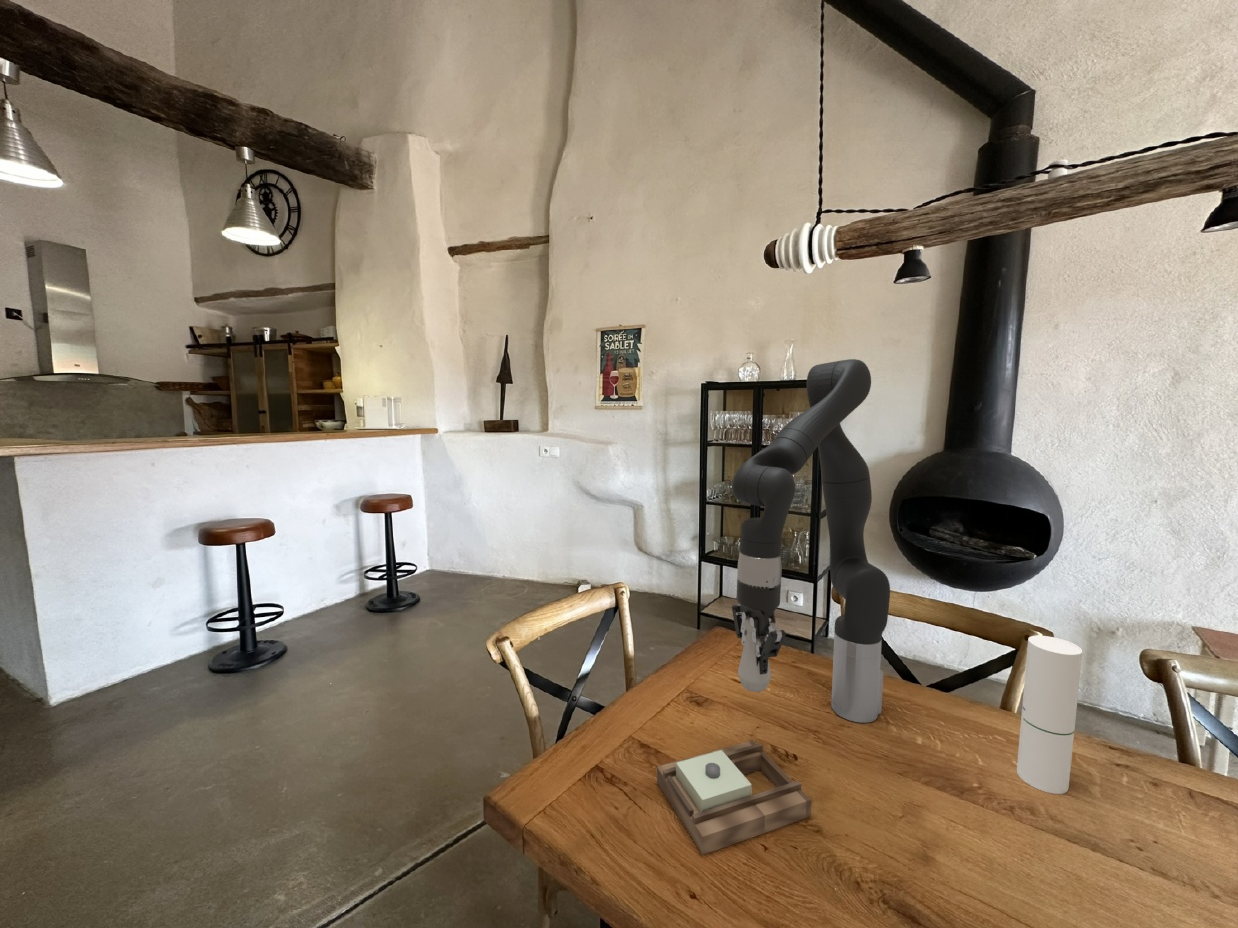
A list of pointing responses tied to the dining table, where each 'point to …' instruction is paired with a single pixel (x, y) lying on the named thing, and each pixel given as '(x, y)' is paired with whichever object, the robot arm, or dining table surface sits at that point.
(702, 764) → the cover
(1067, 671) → the cylindrical container
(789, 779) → the board
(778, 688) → the dining table surface
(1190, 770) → the dining table surface
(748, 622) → the salt shaker
